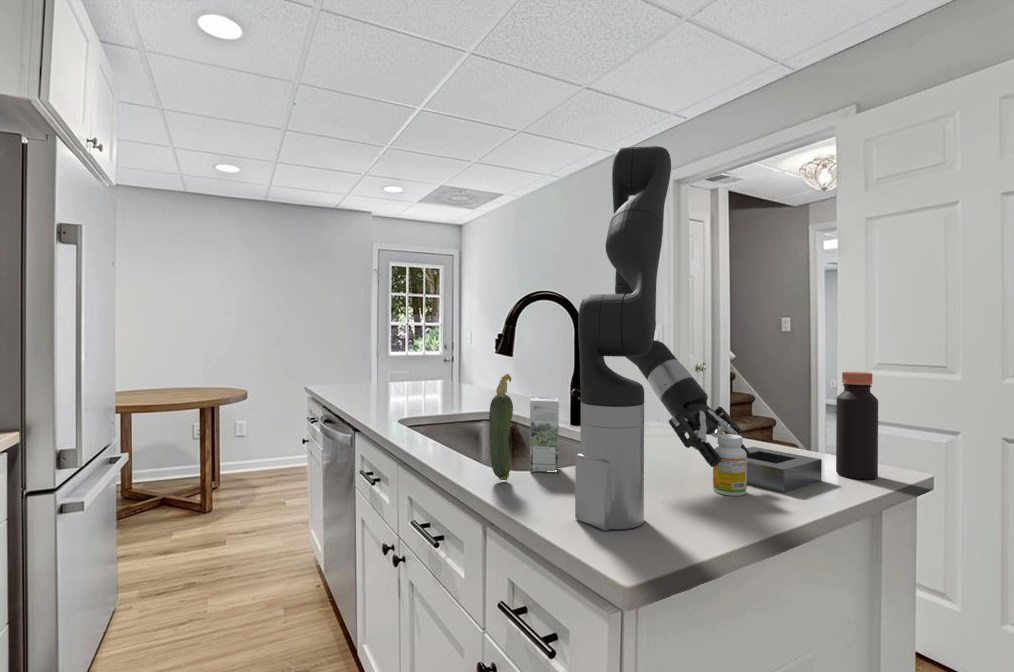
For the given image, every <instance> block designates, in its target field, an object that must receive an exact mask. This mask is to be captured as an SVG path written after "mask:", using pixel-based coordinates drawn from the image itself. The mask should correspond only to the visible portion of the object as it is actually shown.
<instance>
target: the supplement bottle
mask: <svg viewBox="0 0 1014 672" xmlns="http://www.w3.org/2000/svg"><path fill="white" fill-rule="evenodd" d="M742 443H743V437H742V435H739V434H738V435H732V434H725V433H723V434H721V435H718V437H717V445H718V446H717V447H714V450H715V451H716V452H717V454H718V455H719V456H720V458H721V462H720V463H719V464H717V465H716V466H714V467H712V489H713V491H714V492H715V493H717V494H719V495H722V496H730V497H740V496H744V495H746V494H747V485H748V484H747V455H746V451H745V450H744V449H742V448H741V446H742Z"/></svg>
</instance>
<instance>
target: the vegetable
mask: <svg viewBox="0 0 1014 672" xmlns="http://www.w3.org/2000/svg"><path fill="white" fill-rule="evenodd" d="M508 382H509V383H510V382H512V376H511V375H510V374H509V373H506V374H504V375H503V376H502V377H501V379H500V380H499V383H498V385H497V387H496V390H495V391H496V395H494V396H493V398H492V400H491V402H490V404H489V415H488V418H489V419H488V424H489V430H488V434H489V455H490V463H491V467H492V472H493V474H494V476H495V477H496V478H498V480H500V481H501V480H506V481H508V479H509V477H510V472H511V462H510V449H509V435H510V431H511V427H512V426H511V425H512V420H513V413H514V406H513V401H512V399H511V397H510V396H509V395H508V394H506V393H508ZM506 481H505V482H506Z"/></svg>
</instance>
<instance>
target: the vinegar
mask: <svg viewBox="0 0 1014 672" xmlns="http://www.w3.org/2000/svg"><path fill="white" fill-rule="evenodd" d="M841 374H842V375H841V377H842V378H841V383H842V386H843V391H841V392H840V394H839V395H837V396H836V402H835V404H836V411H835V412H836V419H835V420H836V421H835V422H836V424H835V425H836V427H835V429H836V431H835V434H836V435H835V437H836V438H835V439H836V440H835V445H836V446H835V455H836V456H835V460H836V461H835V471H836V474H837V475H839V476H841V477H844V478H849V479H854V480H863V481H871V480H876V479H877V478H878V475H879V400H878V398H877V397H876V396H875V395H874V394H873V393H872V392H871V388H872V387H873V386H872V385H873V373H872V372H867V371H866V372H862V371H843V372H841Z"/></svg>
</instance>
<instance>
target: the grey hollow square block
mask: <svg viewBox="0 0 1014 672" xmlns="http://www.w3.org/2000/svg"><path fill="white" fill-rule="evenodd" d="M746 448H747V450H748V451H749V453H750V454H749V456H747V485H752V486H754V487H755V486H756V487H759V488H764V489H768V490H772V491H776V492H781V493H787V492H790V491H794V490H797V489H799V488H803V487H806V486H808V485H813V484H815V483H818V482H821V481H822V477H823V475H822V467H823V465H822V463H823V462H822V458H817V457H812V456H806V455H801V454H795V453H790V452H784V451H778V450H773V449H767V448H762V447H757V446H750V447H746Z"/></svg>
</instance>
